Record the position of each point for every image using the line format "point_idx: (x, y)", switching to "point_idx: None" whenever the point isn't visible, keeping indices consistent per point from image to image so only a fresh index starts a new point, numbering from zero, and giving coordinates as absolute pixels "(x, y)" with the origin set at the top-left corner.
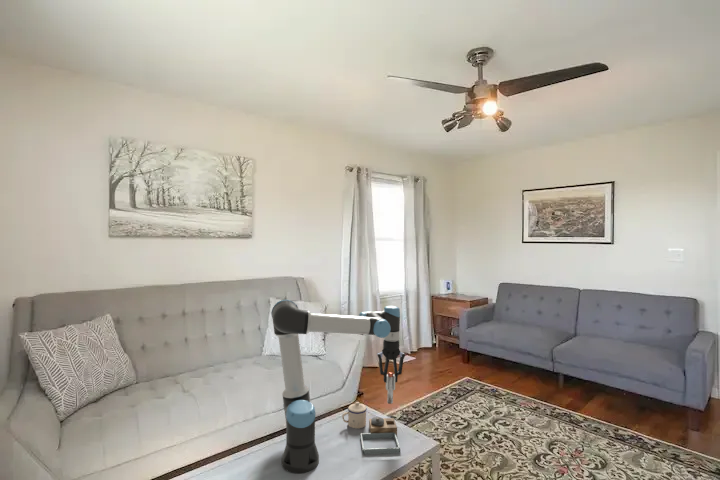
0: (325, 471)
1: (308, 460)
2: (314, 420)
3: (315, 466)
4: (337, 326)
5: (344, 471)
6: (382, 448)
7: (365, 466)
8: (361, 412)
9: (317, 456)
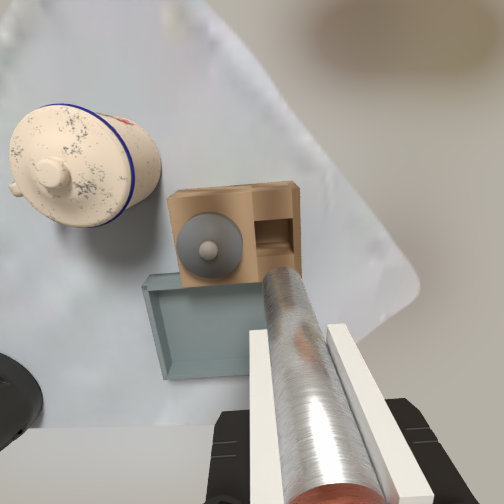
0: (74, 421)
1: (4, 447)
2: None
3: (38, 412)
4: None
5: (126, 420)
6: (231, 373)
7: (182, 402)
8: (109, 221)
9: (24, 417)
